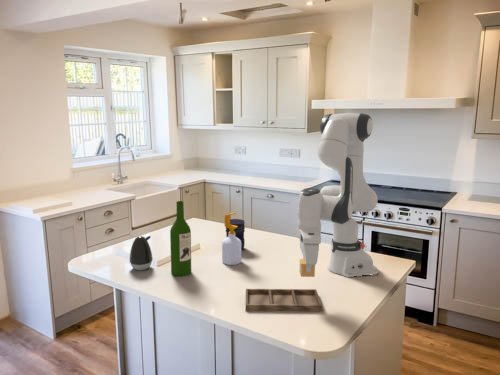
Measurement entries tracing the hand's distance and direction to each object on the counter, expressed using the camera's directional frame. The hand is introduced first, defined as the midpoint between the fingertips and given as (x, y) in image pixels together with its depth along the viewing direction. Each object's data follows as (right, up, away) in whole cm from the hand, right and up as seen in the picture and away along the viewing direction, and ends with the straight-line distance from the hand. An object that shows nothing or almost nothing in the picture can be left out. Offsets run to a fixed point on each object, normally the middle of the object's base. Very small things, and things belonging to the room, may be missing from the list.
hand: (307, 267), depth 157 cm
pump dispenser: (-71, -7, +35) cm, 80 cm away
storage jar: (-29, -2, +63) cm, 69 cm away
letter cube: (0, -2, 0) cm, 2 cm away
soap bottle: (-30, -6, +44) cm, 54 cm away
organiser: (-9, -14, +3) cm, 17 cm away
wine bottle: (-52, -8, +30) cm, 61 cm away
